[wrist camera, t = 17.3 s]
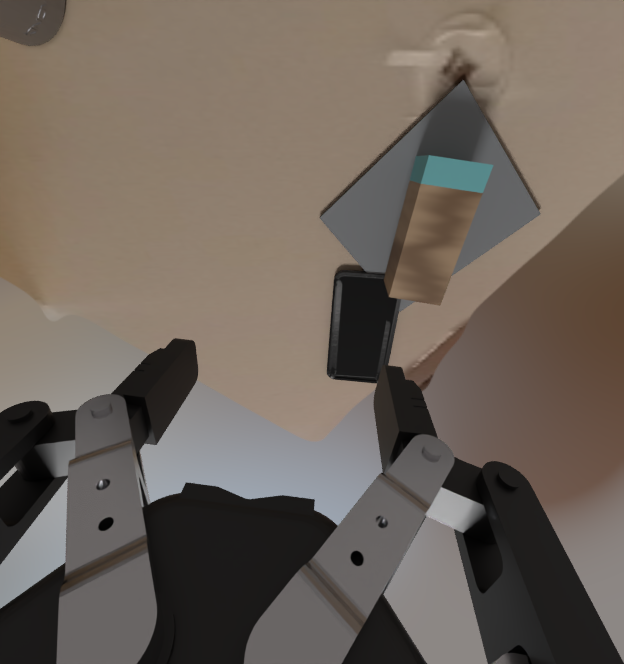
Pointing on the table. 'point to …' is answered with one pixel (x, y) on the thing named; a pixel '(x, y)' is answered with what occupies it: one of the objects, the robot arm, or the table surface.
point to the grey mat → (394, 175)
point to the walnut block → (433, 226)
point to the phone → (360, 326)
